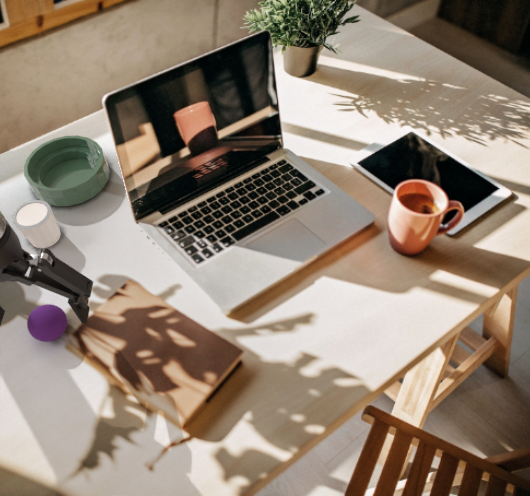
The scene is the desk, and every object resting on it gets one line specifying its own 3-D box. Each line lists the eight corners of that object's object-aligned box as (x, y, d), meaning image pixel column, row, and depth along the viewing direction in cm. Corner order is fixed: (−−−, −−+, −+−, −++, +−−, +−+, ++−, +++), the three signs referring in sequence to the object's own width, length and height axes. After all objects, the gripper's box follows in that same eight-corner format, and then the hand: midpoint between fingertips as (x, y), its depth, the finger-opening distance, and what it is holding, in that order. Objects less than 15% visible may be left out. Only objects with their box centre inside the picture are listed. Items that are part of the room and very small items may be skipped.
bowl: (25, 209, 99) (14, 191, 94) (43, 154, 108) (34, 136, 104) (103, 207, 99) (95, 189, 94) (115, 152, 108) (108, 134, 104)
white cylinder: (55, 253, 92) (41, 230, 86) (21, 249, 93) (4, 226, 87) (70, 225, 96) (57, 201, 90) (36, 221, 97) (22, 197, 91)
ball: (31, 348, 81) (16, 331, 76) (40, 315, 84) (26, 298, 80) (68, 347, 81) (55, 330, 76) (75, 314, 84) (63, 296, 80)
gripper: (-137, 263, 59) (-44, 341, 76) (71, 255, 59) (118, 335, 76) (-111, 215, 63) (-28, 299, 81) (83, 208, 63) (124, 293, 80)
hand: (43, 317), depth 78 cm, fingers open, 13 cm apart
